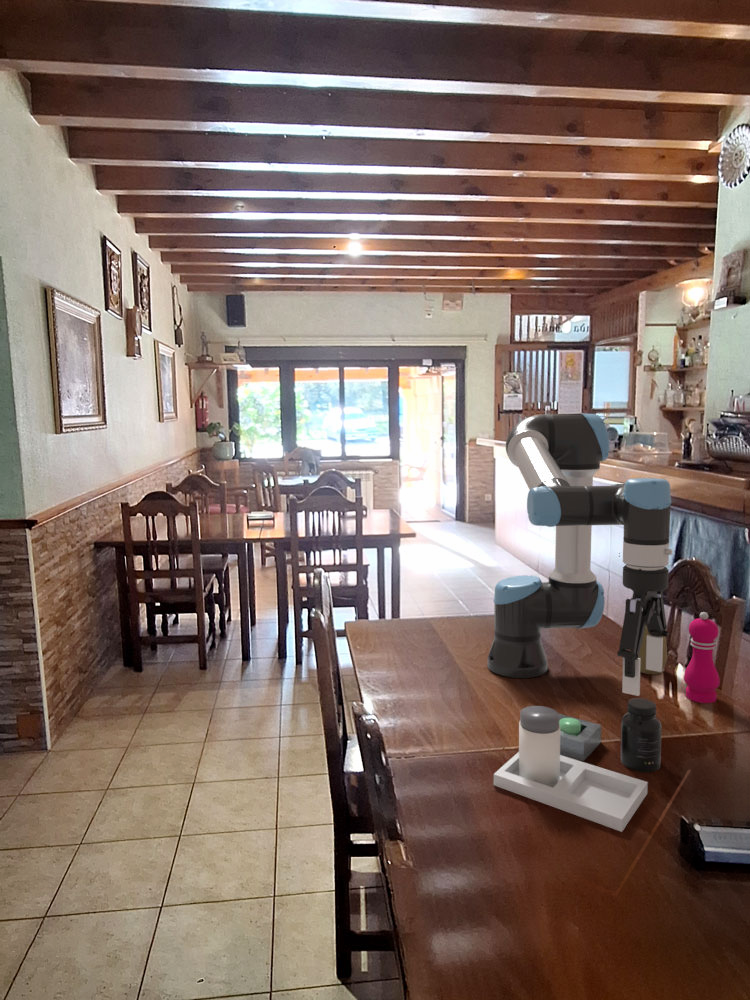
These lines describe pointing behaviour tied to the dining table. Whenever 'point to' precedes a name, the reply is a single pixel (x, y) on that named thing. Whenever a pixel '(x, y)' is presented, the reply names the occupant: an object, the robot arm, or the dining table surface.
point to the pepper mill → (702, 661)
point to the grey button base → (580, 740)
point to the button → (570, 726)
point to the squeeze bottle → (643, 654)
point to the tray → (580, 791)
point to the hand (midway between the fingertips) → (643, 681)
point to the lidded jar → (539, 745)
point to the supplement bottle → (641, 736)
